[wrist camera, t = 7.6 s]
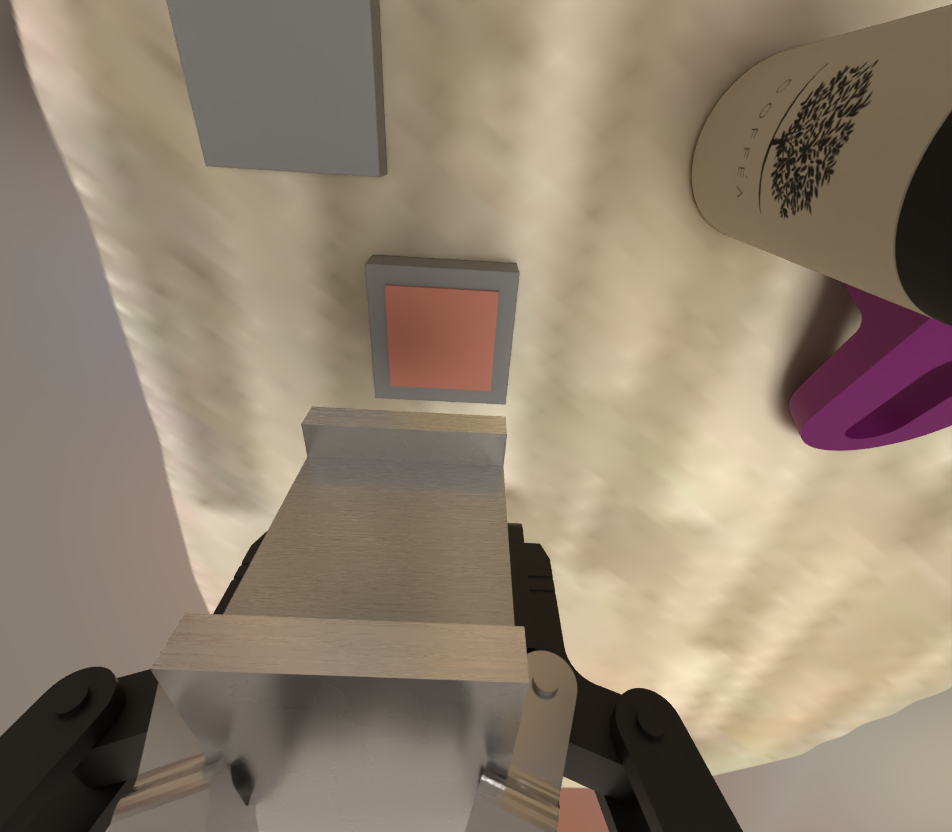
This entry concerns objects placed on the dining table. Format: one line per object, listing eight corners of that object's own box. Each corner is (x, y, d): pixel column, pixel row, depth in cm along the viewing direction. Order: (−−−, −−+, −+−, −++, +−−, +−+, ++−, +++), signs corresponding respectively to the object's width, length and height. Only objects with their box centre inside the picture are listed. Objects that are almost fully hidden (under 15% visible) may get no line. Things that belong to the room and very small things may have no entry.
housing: (311, 406, 11) (150, 668, 6) (505, 416, 11) (529, 682, 6) (343, 589, 15) (265, 847, 10) (485, 595, 15) (489, 853, 10)
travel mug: (901, 96, 20) (2122, -14, 5) (778, 260, 24) (1269, 467, 9) (764, 11, 19) (1933, -493, 4) (657, 202, 23) (1008, 334, 8)
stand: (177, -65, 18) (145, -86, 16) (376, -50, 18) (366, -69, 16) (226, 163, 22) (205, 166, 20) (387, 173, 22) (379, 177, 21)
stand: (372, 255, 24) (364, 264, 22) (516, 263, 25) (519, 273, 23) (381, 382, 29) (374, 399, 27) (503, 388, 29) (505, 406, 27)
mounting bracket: (854, 351, 34) (1159, 73, 18) (912, 449, 29) (1376, 190, 14) (730, 353, 34) (931, 79, 19) (769, 451, 30) (1075, 196, 14)
